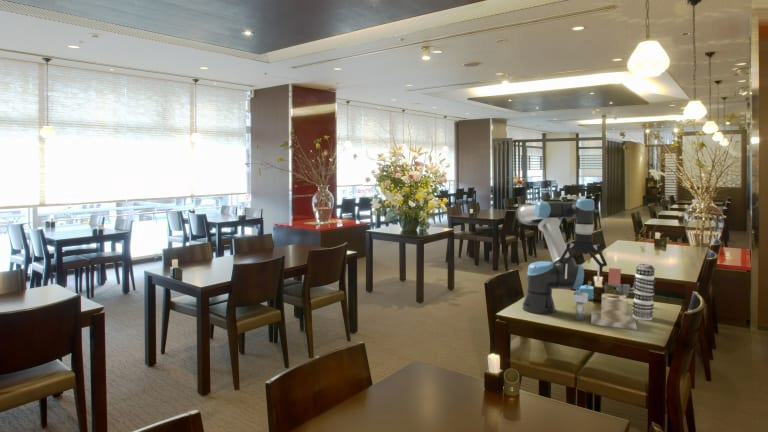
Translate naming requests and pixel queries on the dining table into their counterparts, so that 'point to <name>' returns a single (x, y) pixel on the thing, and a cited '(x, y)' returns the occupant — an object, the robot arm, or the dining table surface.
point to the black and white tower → (644, 292)
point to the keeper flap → (614, 277)
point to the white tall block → (580, 304)
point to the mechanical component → (625, 289)
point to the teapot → (587, 291)
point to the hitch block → (613, 311)
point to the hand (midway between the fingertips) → (581, 279)
